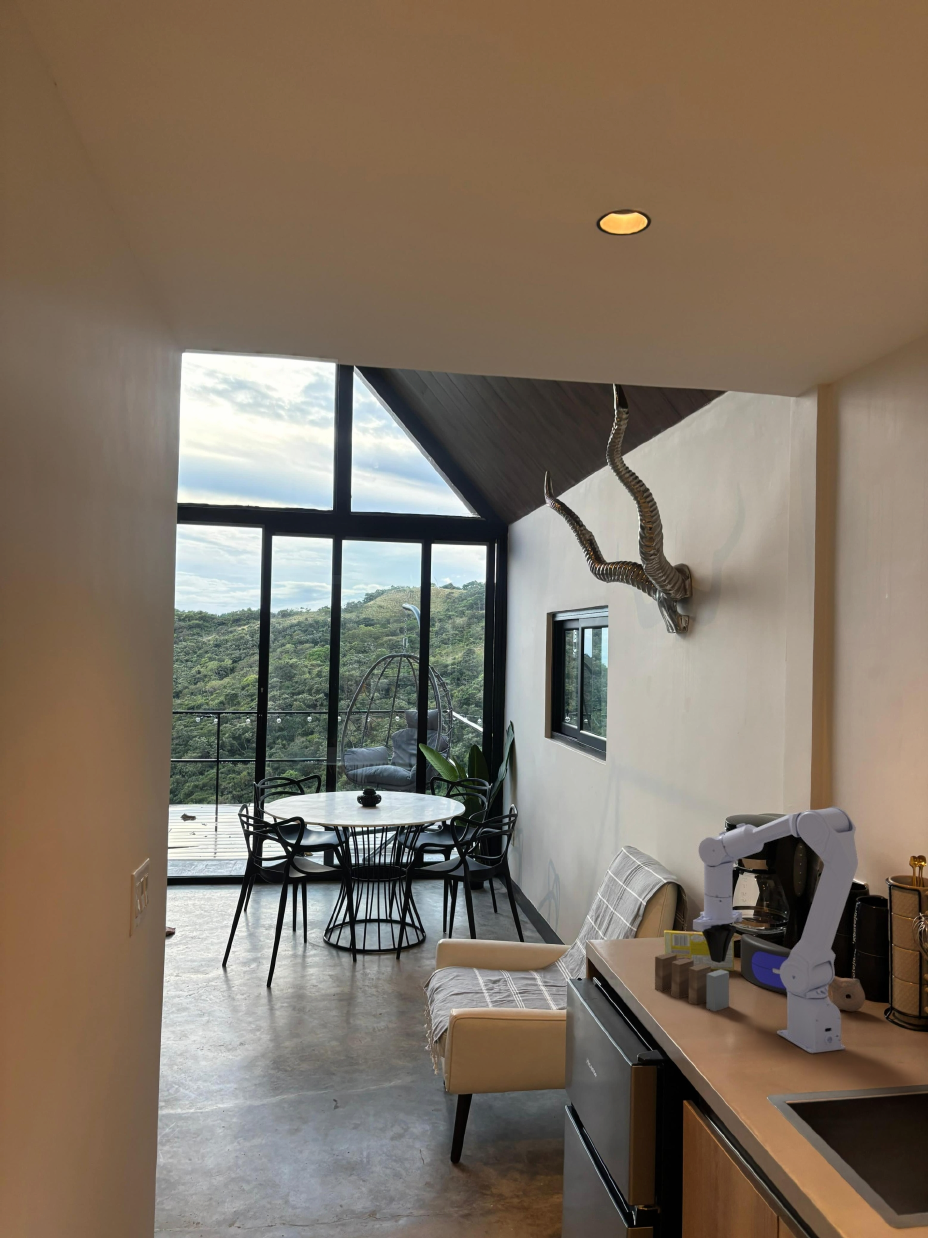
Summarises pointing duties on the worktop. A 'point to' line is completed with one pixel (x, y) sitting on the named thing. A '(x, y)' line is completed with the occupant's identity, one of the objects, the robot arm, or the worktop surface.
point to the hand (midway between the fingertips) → (718, 961)
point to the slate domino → (717, 990)
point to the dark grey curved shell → (763, 962)
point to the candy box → (696, 949)
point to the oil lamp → (847, 993)
